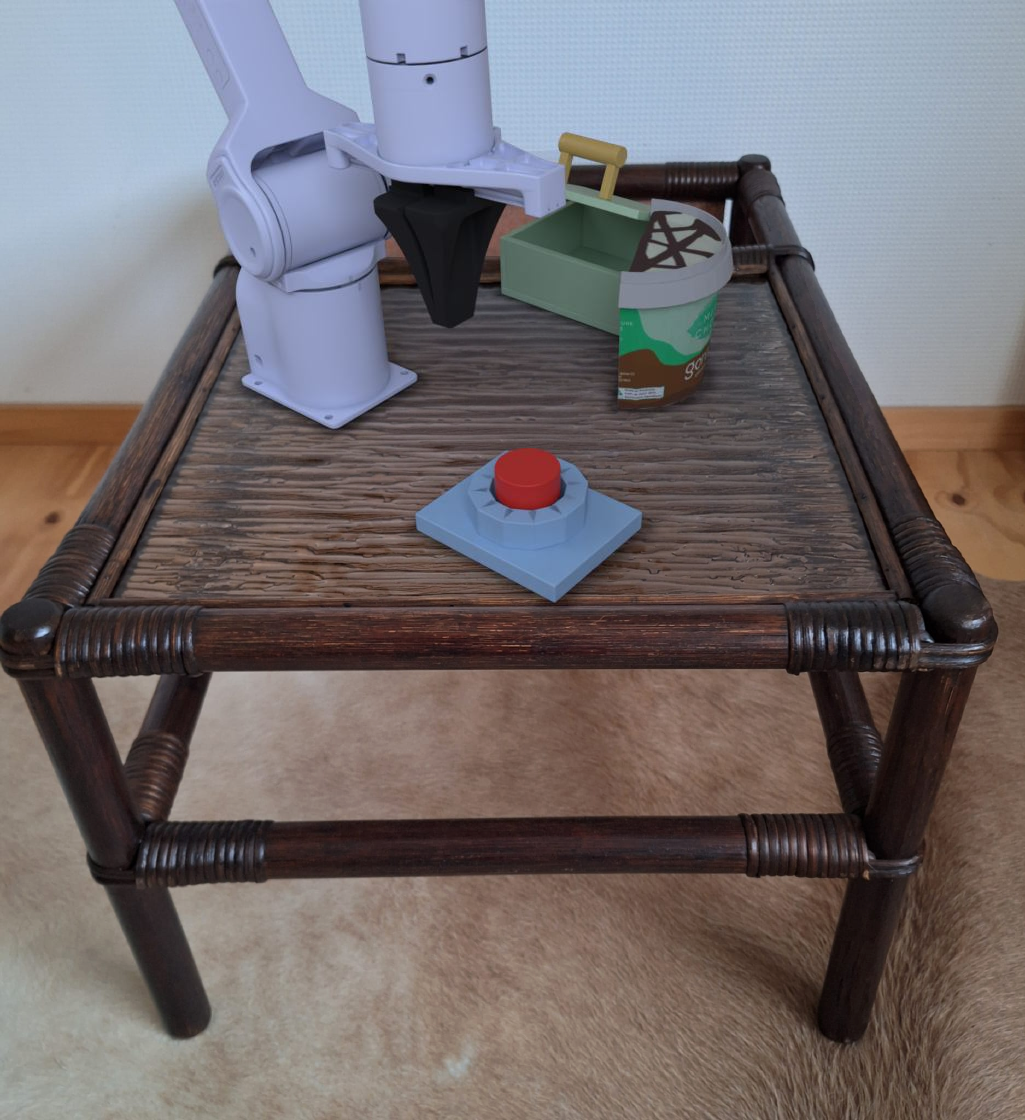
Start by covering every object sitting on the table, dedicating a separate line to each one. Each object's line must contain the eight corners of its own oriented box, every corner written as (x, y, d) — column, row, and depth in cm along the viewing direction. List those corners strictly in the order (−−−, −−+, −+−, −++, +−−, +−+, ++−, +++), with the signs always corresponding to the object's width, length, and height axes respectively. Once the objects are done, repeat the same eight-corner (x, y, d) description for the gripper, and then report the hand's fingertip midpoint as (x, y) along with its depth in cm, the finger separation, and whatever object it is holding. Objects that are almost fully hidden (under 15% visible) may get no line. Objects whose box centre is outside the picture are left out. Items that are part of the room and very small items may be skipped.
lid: (636, 219, 71) (654, 153, 70) (496, 179, 77) (510, 117, 76) (711, 231, 80) (728, 173, 78) (580, 193, 86) (593, 139, 85)
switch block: (416, 530, 61) (411, 487, 59) (506, 465, 66) (504, 424, 64) (554, 603, 56) (554, 560, 54) (641, 528, 61) (644, 485, 59)
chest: (630, 340, 77) (633, 280, 74) (501, 293, 83) (499, 237, 80) (706, 288, 83) (712, 231, 80) (580, 248, 89) (581, 194, 86)
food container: (709, 431, 68) (725, 285, 61) (613, 420, 69) (619, 275, 63) (729, 338, 77) (746, 202, 71) (644, 329, 78) (653, 195, 72)
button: (481, 495, 59) (480, 469, 58) (523, 465, 61) (522, 440, 60) (532, 520, 57) (532, 494, 56) (573, 488, 59) (574, 462, 58)
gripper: (603, 46, 48) (605, 323, 57) (378, 17, 56) (409, 265, 65) (502, 85, 44) (520, 377, 53) (275, 47, 52) (322, 308, 60)
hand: (453, 319), depth 58 cm, fingers closed
